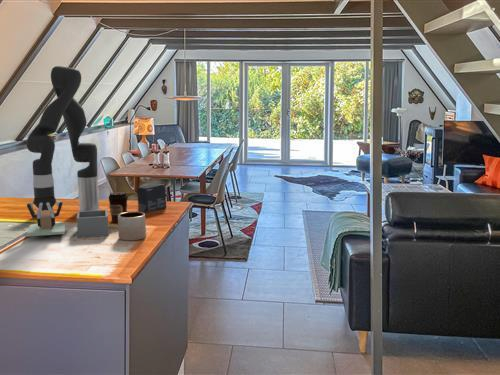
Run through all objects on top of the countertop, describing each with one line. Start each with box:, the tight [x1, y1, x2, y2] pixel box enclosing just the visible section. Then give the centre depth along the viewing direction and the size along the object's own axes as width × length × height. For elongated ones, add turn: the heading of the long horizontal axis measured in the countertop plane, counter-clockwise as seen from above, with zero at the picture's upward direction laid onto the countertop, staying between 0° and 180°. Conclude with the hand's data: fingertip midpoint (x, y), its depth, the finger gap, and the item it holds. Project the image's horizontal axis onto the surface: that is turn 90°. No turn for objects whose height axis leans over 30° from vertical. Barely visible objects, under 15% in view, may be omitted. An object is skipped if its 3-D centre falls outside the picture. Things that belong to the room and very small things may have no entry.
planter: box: [117, 211, 147, 242], centre depth 204 cm, size 11×11×10 cm
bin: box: [76, 209, 110, 239], centre depth 211 cm, size 12×12×8 cm
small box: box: [136, 182, 167, 213], centre depth 252 cm, size 13×7×12 cm, turn 144°
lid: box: [25, 215, 67, 237], centre depth 205 cm, size 14×14×7 cm
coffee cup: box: [108, 191, 129, 223], centre depth 228 cm, size 9×8×13 cm
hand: (46, 226), depth 206 cm, fingers closed on lid, 4 cm apart
